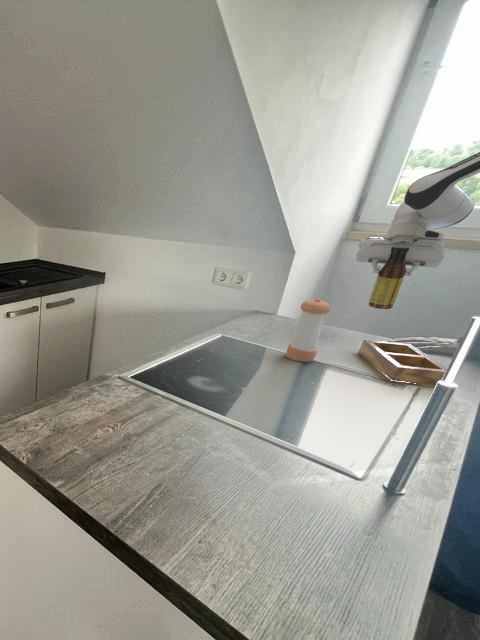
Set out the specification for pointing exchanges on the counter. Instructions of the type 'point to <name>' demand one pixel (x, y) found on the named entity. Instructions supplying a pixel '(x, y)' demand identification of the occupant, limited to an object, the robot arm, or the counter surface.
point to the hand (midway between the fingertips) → (391, 273)
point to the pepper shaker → (308, 331)
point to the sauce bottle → (389, 279)
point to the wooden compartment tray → (402, 362)
